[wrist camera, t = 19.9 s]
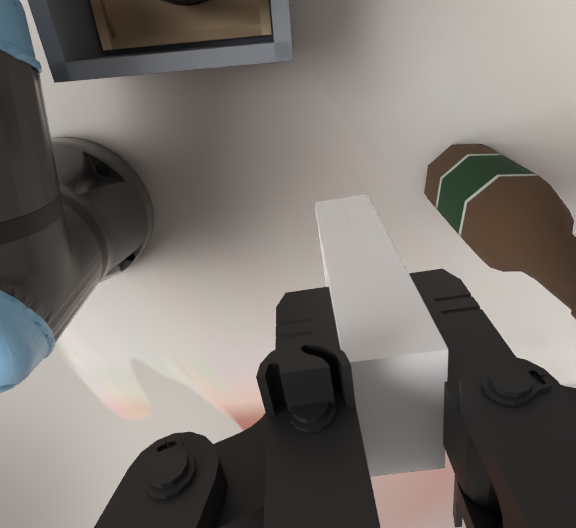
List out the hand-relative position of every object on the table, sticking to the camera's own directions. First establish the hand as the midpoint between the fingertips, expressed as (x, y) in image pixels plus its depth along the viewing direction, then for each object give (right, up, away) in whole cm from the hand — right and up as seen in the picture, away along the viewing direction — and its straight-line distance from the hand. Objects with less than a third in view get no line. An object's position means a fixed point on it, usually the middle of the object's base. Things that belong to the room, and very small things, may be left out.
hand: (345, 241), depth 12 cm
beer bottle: (+16, +8, +32) cm, 36 cm away
